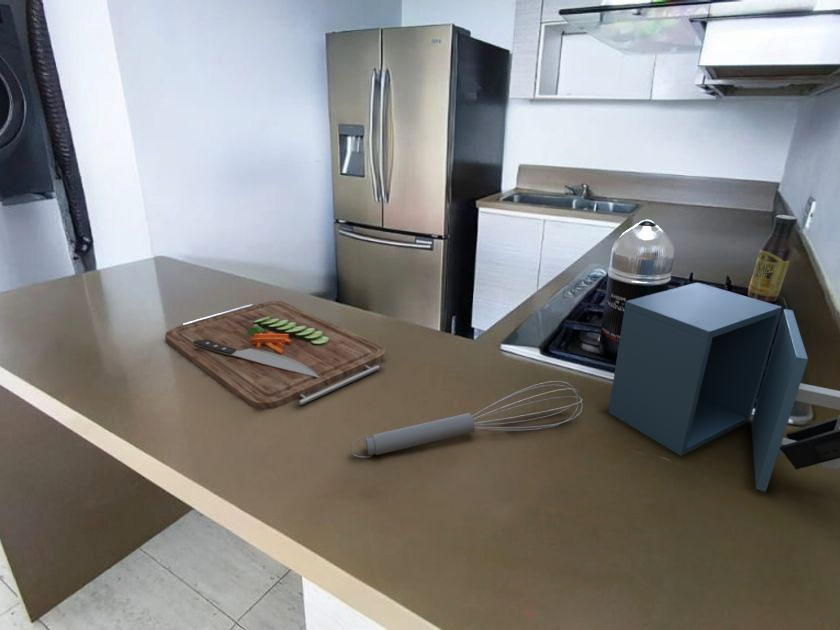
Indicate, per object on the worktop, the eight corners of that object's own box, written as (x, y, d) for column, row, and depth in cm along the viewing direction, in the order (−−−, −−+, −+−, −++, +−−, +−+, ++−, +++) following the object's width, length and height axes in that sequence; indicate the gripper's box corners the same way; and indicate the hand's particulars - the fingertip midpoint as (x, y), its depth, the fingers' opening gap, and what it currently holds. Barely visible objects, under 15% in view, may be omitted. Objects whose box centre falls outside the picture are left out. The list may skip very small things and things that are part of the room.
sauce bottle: (740, 295, 123) (760, 214, 116) (762, 293, 124) (784, 212, 117) (761, 304, 117) (784, 219, 110) (785, 302, 118) (809, 218, 111)
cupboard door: (813, 437, 70) (853, 319, 63) (831, 511, 57) (885, 373, 50) (751, 422, 73) (783, 308, 66) (755, 489, 60) (796, 356, 53)
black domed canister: (635, 371, 88) (660, 229, 78) (585, 350, 95) (603, 219, 86) (667, 355, 93) (693, 221, 84) (617, 337, 101) (637, 212, 91)
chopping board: (402, 361, 92) (402, 345, 91) (271, 421, 74) (268, 403, 73) (272, 301, 121) (271, 289, 120) (156, 334, 103) (153, 321, 102)
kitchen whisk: (347, 444, 69) (345, 405, 66) (565, 407, 78) (570, 371, 75) (354, 473, 63) (352, 431, 61) (588, 429, 72) (594, 391, 70)
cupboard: (749, 421, 73) (782, 306, 67) (680, 456, 66) (709, 331, 59) (675, 385, 83) (697, 282, 76) (607, 412, 76) (625, 301, 69)
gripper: (1139, 448, 37) (802, 515, 53) (1088, 372, 48) (821, 448, 64) (1059, 361, 38) (755, 453, 55) (1028, 307, 49) (782, 397, 66)
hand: (791, 450), depth 59 cm, fingers open, 3 cm apart
